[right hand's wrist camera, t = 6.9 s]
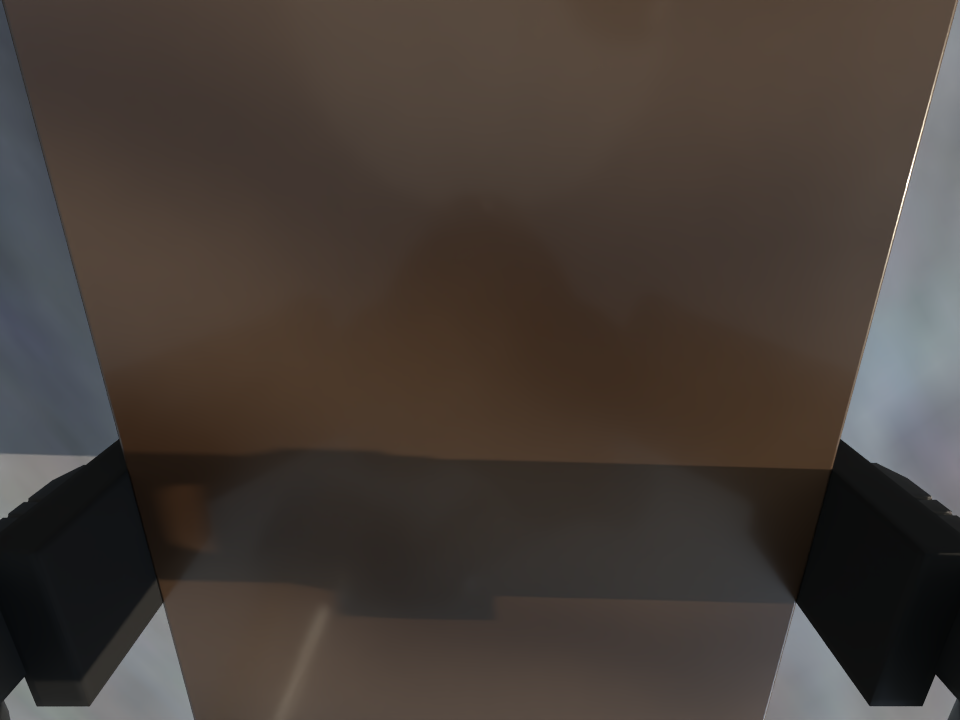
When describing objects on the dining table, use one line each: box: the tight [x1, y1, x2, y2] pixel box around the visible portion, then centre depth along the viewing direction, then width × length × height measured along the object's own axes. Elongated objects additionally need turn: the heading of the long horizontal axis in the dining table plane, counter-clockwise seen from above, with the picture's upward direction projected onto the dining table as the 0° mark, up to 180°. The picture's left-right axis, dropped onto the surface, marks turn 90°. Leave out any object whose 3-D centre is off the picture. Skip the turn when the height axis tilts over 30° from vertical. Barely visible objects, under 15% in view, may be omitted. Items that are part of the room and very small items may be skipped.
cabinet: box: [2, 0, 958, 720], centre depth 12 cm, size 22×11×10 cm, turn 0°
